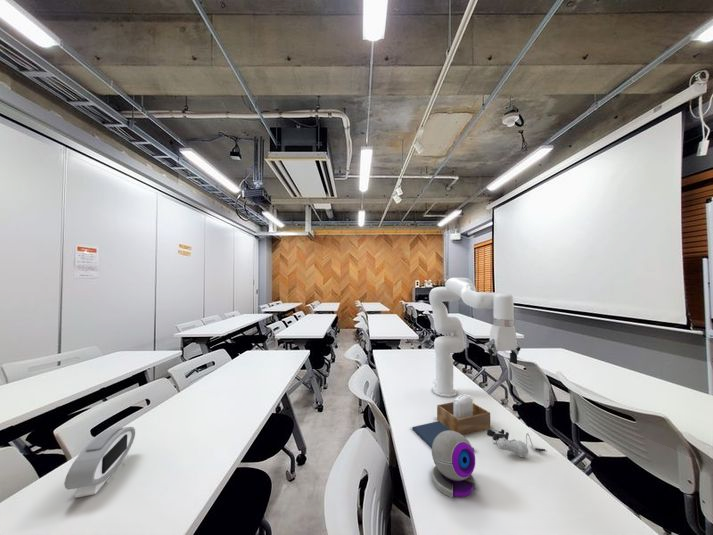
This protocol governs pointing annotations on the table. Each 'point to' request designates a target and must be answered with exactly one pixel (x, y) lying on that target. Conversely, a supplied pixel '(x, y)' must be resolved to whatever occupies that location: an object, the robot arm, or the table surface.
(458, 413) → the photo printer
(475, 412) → the wooden box
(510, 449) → the clip-on lamp
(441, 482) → the webcam
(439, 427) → the mat
